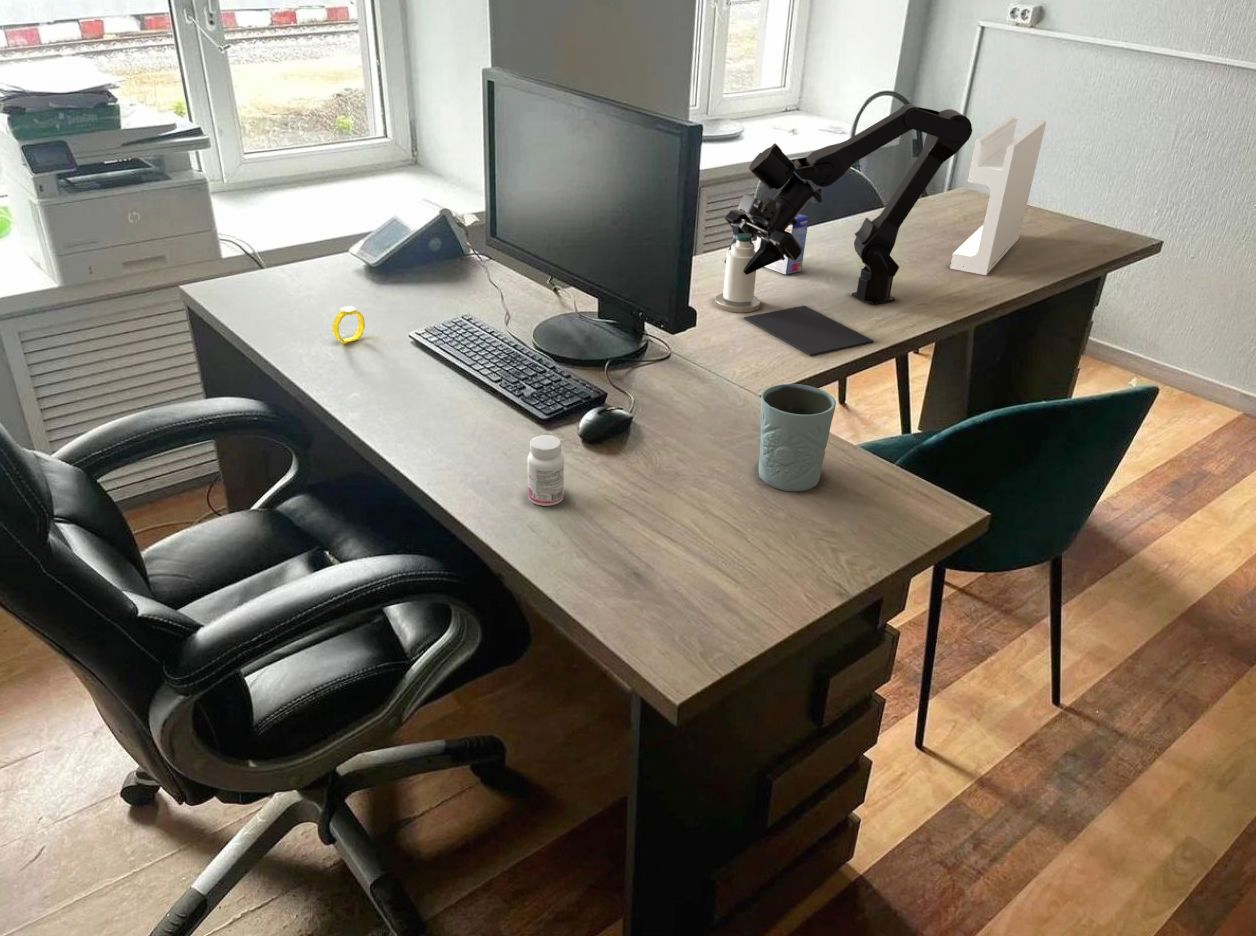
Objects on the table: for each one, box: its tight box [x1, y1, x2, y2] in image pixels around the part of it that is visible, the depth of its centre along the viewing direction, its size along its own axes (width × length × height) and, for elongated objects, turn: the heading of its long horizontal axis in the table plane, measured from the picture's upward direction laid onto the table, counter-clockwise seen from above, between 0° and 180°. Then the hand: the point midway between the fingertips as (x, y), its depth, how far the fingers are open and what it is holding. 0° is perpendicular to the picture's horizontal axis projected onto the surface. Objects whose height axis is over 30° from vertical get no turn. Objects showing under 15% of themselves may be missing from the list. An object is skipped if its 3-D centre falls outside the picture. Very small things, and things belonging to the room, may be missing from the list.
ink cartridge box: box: [754, 213, 810, 275], centre depth 218 cm, size 10×6×14 cm, turn 41°
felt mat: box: [743, 305, 874, 357], centre depth 190 cm, size 15×20×1 cm
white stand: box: [949, 116, 1047, 276], centre depth 231 cm, size 35×8×28 cm, turn 150°
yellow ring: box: [332, 305, 366, 344], centre depth 176 cm, size 6×3×6 cm, turn 142°
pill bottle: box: [527, 434, 565, 507], centre depth 132 cm, size 5×5×8 cm
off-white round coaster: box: [714, 292, 761, 313], centre depth 200 cm, size 9×9×1 cm
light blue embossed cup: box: [758, 383, 837, 492], centre depth 139 cm, size 10×10×12 cm
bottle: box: [723, 233, 757, 302], centre depth 197 cm, size 6×6×12 cm
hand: (735, 268), depth 196 cm, fingers closed on bottle, 6 cm apart
